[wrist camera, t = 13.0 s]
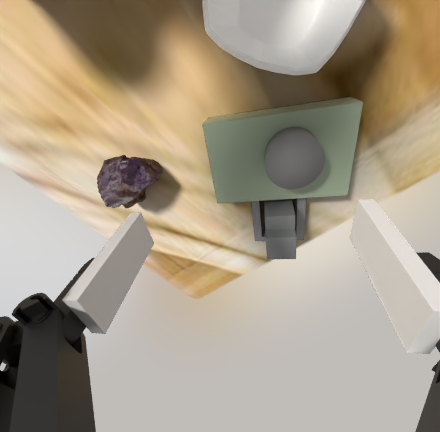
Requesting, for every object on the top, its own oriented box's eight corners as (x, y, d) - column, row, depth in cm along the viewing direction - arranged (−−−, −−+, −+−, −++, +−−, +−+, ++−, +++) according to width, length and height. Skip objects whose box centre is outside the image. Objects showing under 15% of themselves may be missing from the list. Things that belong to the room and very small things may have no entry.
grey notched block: (266, 226, 49) (267, 259, 41) (264, 194, 45) (264, 223, 37) (290, 225, 48) (295, 258, 40) (290, 192, 44) (296, 222, 36)
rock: (172, 172, 47) (132, 134, 43) (162, 188, 39) (114, 144, 36) (137, 206, 51) (98, 174, 47) (122, 226, 43) (75, 190, 40)
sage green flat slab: (229, 234, 52) (223, 263, 45) (208, 117, 38) (196, 131, 31) (332, 231, 48) (344, 262, 40) (350, 96, 34) (375, 107, 26)
